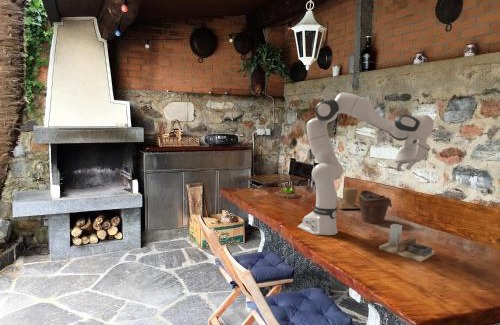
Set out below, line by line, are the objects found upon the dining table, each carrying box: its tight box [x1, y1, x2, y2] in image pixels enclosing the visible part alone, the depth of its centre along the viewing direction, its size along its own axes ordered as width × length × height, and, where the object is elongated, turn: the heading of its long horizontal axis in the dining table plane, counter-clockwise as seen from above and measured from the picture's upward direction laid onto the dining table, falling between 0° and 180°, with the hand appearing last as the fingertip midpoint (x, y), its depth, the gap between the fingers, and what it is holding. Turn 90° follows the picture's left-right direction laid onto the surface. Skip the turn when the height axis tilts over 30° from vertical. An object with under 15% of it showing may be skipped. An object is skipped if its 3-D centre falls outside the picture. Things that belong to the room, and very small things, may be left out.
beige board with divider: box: [378, 236, 435, 263], centre depth 173 cm, size 20×15×6 cm
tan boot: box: [337, 187, 361, 210], centre depth 253 cm, size 15×12×15 cm
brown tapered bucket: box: [357, 190, 393, 225], centre depth 222 cm, size 18×20×18 cm
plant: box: [273, 181, 302, 200], centre depth 289 cm, size 20×20×11 cm
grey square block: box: [388, 223, 403, 247], centre depth 176 cm, size 4×4×10 cm
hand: (402, 169), depth 176 cm, fingers open, 8 cm apart
